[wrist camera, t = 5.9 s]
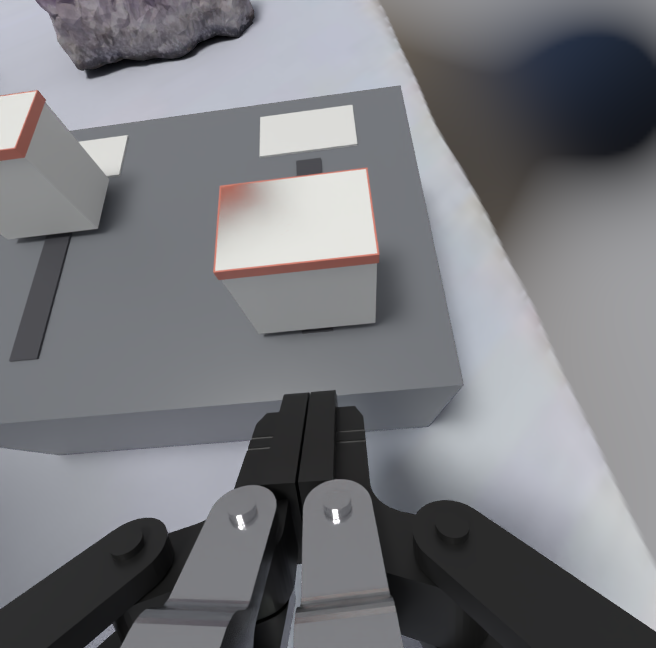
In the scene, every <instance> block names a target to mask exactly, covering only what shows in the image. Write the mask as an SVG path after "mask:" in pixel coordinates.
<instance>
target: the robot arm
mask: <svg viewBox="0 0 656 648" xmlns="http://www.w3.org/2000/svg"><path fill="white" fill-rule="evenodd" d="M297 564H302V587H301V606H300V607H297V609H296V613H295V623H294V647H293V648H404V647H403V642H402V637H401V634H402V635H405V636H408V637H411V638H414V639H416V640H419V641H420V642H421V645H422V646H423V648H656V632H655V631H654V630H652V629H651V628H650V627H648V626H647V625H645V624H644V623H642V622H641V621H639V620H638V619H636V618H635V617H633V616H632V615H630V614H629V613H627V612H626V611H624V610H623V609H621V608H620V607H618V606H617V605H615V604H614V603H613V602H611V601H610V600H608V599H607V598H605V597H604V596H602V595H601V594H599V593H598V592H596V591H595V590H593V589H592V588H590V587H589V586H587V585H586V584H584V583H583V582H581V581H580V580H578V579H577V578H576V577H574V576H573V575H571V574H570V573H568V572H567V571H565V570H564V569H562V568H561V567H559V566H558V565H556V564H555V563H553V562H552V561H550V560H549V559H547V558H546V557H544V556H543V555H541V554H540V553H539V552H537V551H536V550H534V549H533V548H531V547H530V546H528V545H527V544H525V543H524V542H522V541H521V540H519V539H518V538H516V537H515V536H513V535H512V534H510V533H509V532H507V531H506V530H504V529H503V528H502V527H500V526H499V525H497V524H496V523H494V522H493V521H491V520H490V519H488V518H487V517H485V516H484V515H482V514H481V513H479V512H478V511H476V510H475V509H473V508H471V507H470V506H468V505H465V504H463V503H460V502H456V501H448V500H442V501H435V502H432V503H429V504H427V505H425V506H424V507H422V508H421V509H420V510H419V511H418V512H417V514H416V515H415V514H410V513H405V512H401V511H398V510H395V509H392V508H390V507H388V506H386V505H385V504H383V503H382V502H381V501H379V500H378V498H377V497H376V496H375V495H374V493H373V492H372V489H371V486H370V479H369V469H368V459H367V448H366V438H365V428H364V418H363V415H362V414H361V413H360V411H359V410H358V409H357V408H356V407H355V406H346V407H338V402H337V394H336V390H329V391H317V392H311V393H309V392H306V393H294V394H284V396H283V399H282V403H281V407H280V411H279V412H273V413H266V414H265V416H264V417H263V418H262V419H261V420H260V421H259V422H258V423H257V424H256V426H255V429H254V432H253V435H252V440H251V441H250V444H249V447H248V451H247V453H246V455H245V458H244V461H243V464H242V467H241V470H240V473H239V476H238V479H237V482H236V485H235V488H234V490H231V491H230V492H228V493H226V494H225V495H224V496H222V497H221V498H220V499H219V500H218V501H217V502H216V503H215V504H214V506H213V507H212V509H211V511H210V513H209V515H208V517H207V519H206V520H205V521H203V522H200V523H198V524H195V525H192V526H189V527H186V528H183V529H180V530H177V531H174V532H171V533H168V532H167V529H166V527H165V525H164V524H163V522H161V521H160V520H158V519H155V518H141V519H137V520H133V521H130V522H128V523H126V524H124V525H122V526H120V527H118V528H117V529H115V530H114V531H112V532H111V533H109V534H108V535H106V536H105V537H103V538H102V539H101V540H99V541H98V542H96V543H95V544H93V545H92V546H91V547H89V548H88V549H86V550H85V551H83V552H82V553H81V554H79V555H78V556H76V557H75V558H73V559H72V560H70V561H69V562H68V563H66V564H65V565H63V566H62V567H60V568H59V569H58V570H56V571H55V572H53V573H52V574H50V575H49V576H48V577H46V578H45V579H43V580H42V581H40V582H39V583H37V584H36V585H35V586H33V587H32V588H30V589H29V590H27V591H26V592H25V593H23V594H22V595H20V596H19V597H17V598H16V599H15V600H13V601H12V602H10V603H9V604H7V605H6V606H4V607H3V608H2V609H0V648H84V647H85V646H86V645H88V644H89V643H90V642H91V641H92V640H93V639H95V638H96V637H97V636H98V635H99V634H100V633H101V632H103V631H104V630H105V629H106V628H107V627H108V626H110V625H111V624H113V626H114V628H115V630H116V631H115V632H114V633H113V634H112V635H111V636H109V637H108V638H107V639H106V640H105V641H104V642H103V643H101V644H100V645H99V646H98V647H97V648H287V646H288V641H289V635H290V629H291V624H292V618H293V612H294V607H295V599H296V595H295V589H294V585H295V577H296V568H297Z"/></svg>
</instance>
